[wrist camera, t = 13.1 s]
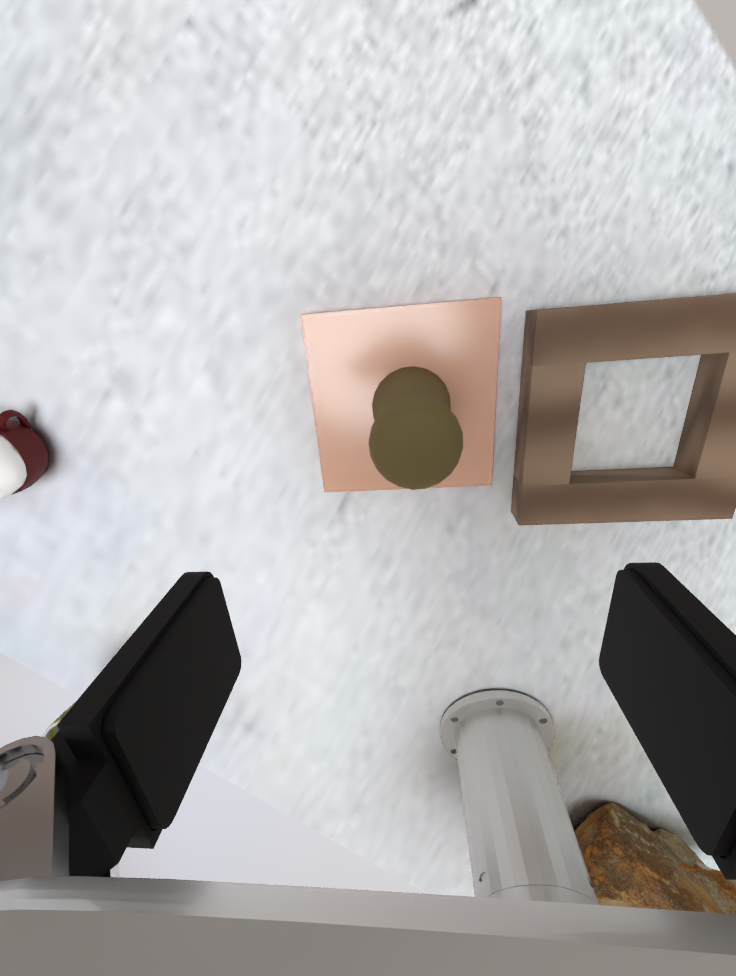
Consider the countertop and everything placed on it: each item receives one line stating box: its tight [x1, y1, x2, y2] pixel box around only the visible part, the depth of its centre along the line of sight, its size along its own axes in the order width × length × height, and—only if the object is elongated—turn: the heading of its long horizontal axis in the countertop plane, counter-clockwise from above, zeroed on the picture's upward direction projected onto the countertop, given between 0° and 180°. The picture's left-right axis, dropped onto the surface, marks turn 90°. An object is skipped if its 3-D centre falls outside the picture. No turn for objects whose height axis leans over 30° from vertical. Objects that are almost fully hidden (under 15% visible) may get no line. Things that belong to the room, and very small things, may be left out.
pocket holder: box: [511, 293, 736, 525], centre depth 29 cm, size 16×16×2 cm
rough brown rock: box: [574, 802, 736, 915], centre depth 46 cm, size 23×17×15 cm
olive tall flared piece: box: [368, 366, 463, 490], centre depth 25 cm, size 6×6×11 cm
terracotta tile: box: [301, 297, 501, 492], centre depth 31 cm, size 14×14×1 cm
